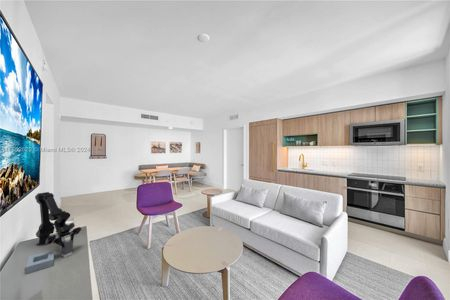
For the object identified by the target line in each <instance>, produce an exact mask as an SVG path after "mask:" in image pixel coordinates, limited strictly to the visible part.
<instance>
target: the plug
mask: <svg viewBox="0 0 450 300" xmlns="http://www.w3.org/2000/svg"><path fill="white" fill-rule="evenodd" d="M62 242H63V244H64V248H63V247H61V246H60V247H61V250H60V252H61V253H60V254H61V255H60V256H62V257H63V258H66V257H68V256H70V255H71V256H72V255H73V251H74V250H73V248H74V247H73V246H74V239H73V240H71V239H70V236H66V237H64V240H62Z"/></svg>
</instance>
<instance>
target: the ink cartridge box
mask: <svg viewBox="0 0 450 300" xmlns="http://www.w3.org/2000/svg"><path fill="white" fill-rule="evenodd" d="M65 223H66V225H70V224H71V223H74V224H75V221H74V217H69V219H68V220H67V221H66V222H65ZM73 229H74V227H73V228H72V229H70V231H69V232H71V231H73ZM67 236H69V235H67ZM65 237H66V236H64V237H63V238H65Z"/></svg>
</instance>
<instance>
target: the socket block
mask: <svg viewBox="0 0 450 300" xmlns="http://www.w3.org/2000/svg"><path fill="white" fill-rule="evenodd" d="M54 259H55V250H54V249H52V250H48V251H45V252H40V253H38V254H33V255H29V256H27V260H26V262H25V266H24V275H27V274H30V273H34V272H37V271H40V270H43V269H47V268H50V267H54Z"/></svg>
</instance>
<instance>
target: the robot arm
mask: <svg viewBox="0 0 450 300" xmlns="http://www.w3.org/2000/svg"><path fill="white" fill-rule="evenodd" d="M54 197H55V196H54V194H53V192H51V193H50V192H49V191H46V192H38V193H36V195H35V196H34V198H35V201H36V203H37V204H38V205H39V209H40V210H39V211H40V220H41V221H40V225H39V226H38V230H37V232H36V233H35V236H36V237H37V238H38V243H36V244H35V245H36V246H42V245H50V244H56V245H58V246H59V247H63V248H64V244H63V240H62V239H63V238H65V237H64V236H67V235H69V236H70V239H71V240H73V241H74V237H75V236H76V235H78V234H80V232H82V227H80V226H78V227H75V222H74V223H71V224H70V225H66V223H65V222H66V221H67V220H70V219H69V218H71V213H69V212H67V211H66V210H63V209H62V208H60V207H58V204H57V202H56V199H55V198H54ZM51 221H52V222H51ZM53 221H54V222H53ZM72 228H73V231H71V232H69V231H70V229H72ZM54 232H55V233H57V235H55V234H54ZM52 234H54V235H52Z"/></svg>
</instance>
